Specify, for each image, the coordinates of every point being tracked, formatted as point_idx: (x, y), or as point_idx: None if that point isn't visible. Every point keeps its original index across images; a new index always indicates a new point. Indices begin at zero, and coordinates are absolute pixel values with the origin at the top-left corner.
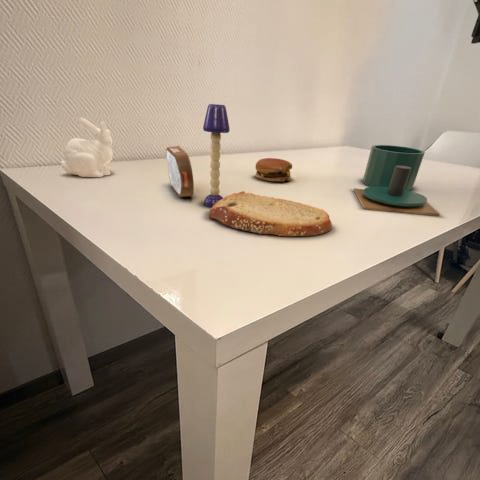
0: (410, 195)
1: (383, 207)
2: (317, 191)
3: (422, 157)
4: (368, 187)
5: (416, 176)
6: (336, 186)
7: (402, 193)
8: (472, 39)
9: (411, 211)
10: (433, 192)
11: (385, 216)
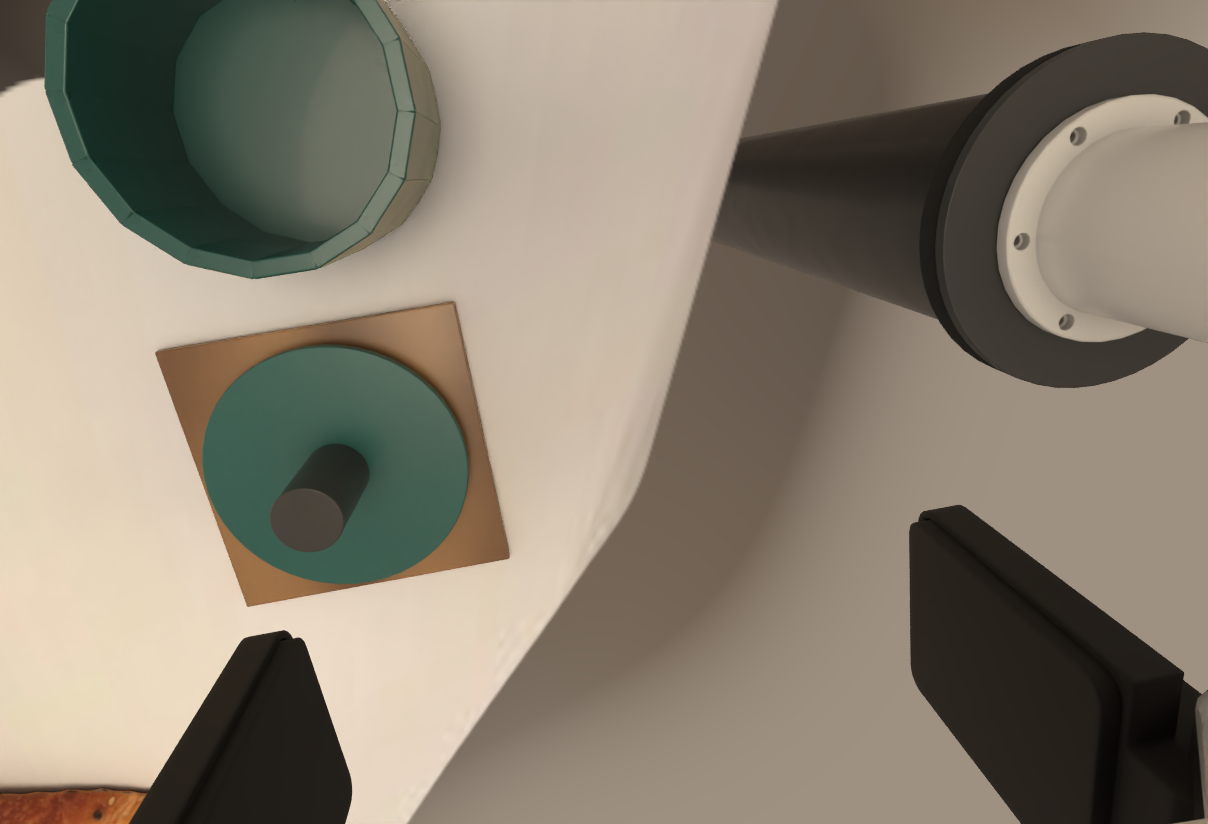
0: (403, 454)
1: (314, 584)
2: (10, 452)
3: (409, 179)
4: (216, 411)
5: (432, 136)
6: (59, 309)
7: (364, 489)
8: (238, 659)
9: (413, 574)
10: (543, 167)
11: (331, 640)
